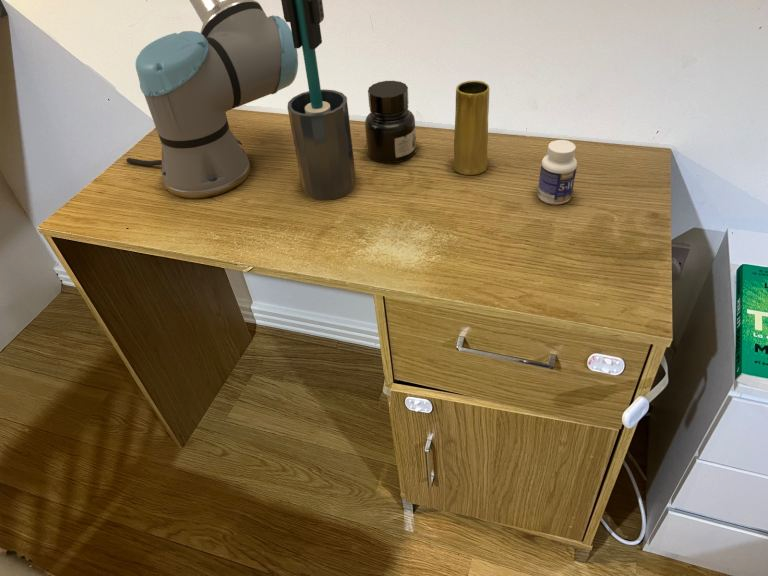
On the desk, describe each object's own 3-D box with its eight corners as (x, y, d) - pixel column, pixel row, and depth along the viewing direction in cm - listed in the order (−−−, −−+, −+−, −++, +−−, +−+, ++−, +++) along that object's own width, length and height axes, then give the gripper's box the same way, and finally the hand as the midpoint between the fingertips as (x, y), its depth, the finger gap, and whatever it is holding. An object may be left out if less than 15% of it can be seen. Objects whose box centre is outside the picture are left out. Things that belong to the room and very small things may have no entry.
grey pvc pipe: (294, 196, 99) (277, 112, 89) (315, 168, 106) (302, 87, 96) (344, 203, 97) (333, 118, 87) (363, 174, 103) (355, 91, 93)
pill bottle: (560, 209, 92) (568, 158, 86) (531, 198, 94) (537, 148, 88) (577, 194, 94) (586, 144, 88) (548, 183, 97) (555, 134, 91)
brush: (307, 151, 96) (280, -8, 80) (317, 139, 98) (292, -17, 82) (329, 154, 95) (307, -7, 78) (339, 142, 97) (318, -16, 81)
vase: (487, 157, 105) (491, 78, 95) (488, 175, 100) (493, 95, 91) (452, 157, 105) (453, 79, 96) (452, 176, 101) (453, 96, 91)
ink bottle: (410, 167, 104) (407, 102, 96) (362, 164, 106) (355, 100, 98) (420, 140, 111) (418, 77, 103) (374, 137, 113) (369, 76, 105)
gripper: (207, -150, 69) (250, 52, 85) (323, -155, 65) (346, 58, 81) (238, -159, 74) (274, 33, 90) (347, -164, 70) (365, 38, 86)
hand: (308, 45), depth 86 cm, fingers closed on brush, 2 cm apart
